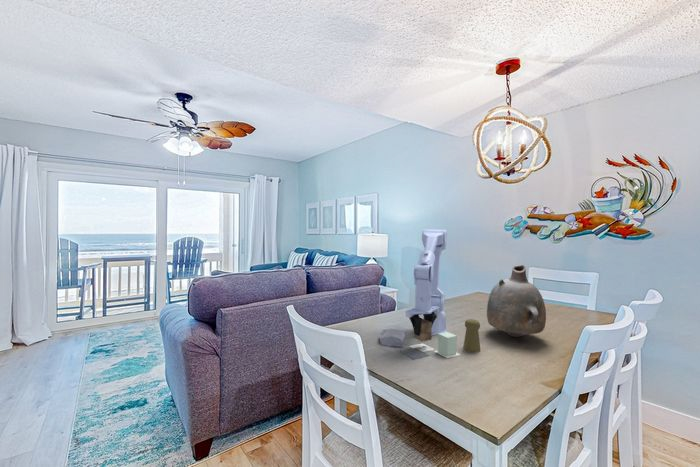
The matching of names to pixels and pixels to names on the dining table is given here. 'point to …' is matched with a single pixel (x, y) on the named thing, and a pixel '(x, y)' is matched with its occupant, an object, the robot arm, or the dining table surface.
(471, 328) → the cork
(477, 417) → the dining table surface
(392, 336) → the stone block
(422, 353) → the charcoal mat
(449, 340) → the sage block
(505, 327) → the jug
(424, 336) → the walnut block
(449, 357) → the tile
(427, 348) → the cream tile
